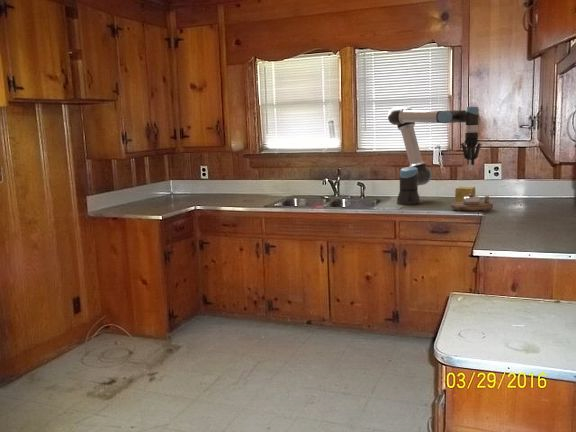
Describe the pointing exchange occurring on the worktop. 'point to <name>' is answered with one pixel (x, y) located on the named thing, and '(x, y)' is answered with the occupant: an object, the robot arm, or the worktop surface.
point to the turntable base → (471, 210)
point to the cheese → (463, 193)
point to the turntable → (481, 206)
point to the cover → (471, 200)
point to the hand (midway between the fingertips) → (470, 170)
